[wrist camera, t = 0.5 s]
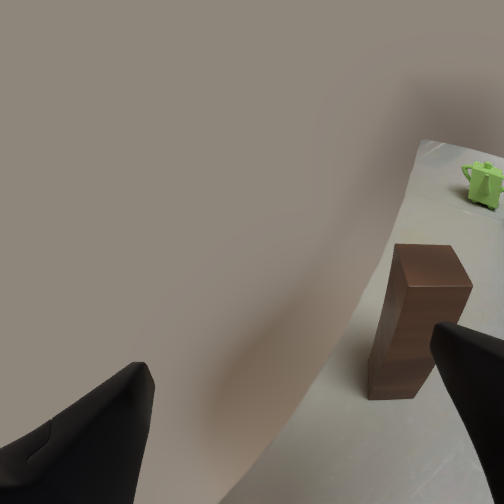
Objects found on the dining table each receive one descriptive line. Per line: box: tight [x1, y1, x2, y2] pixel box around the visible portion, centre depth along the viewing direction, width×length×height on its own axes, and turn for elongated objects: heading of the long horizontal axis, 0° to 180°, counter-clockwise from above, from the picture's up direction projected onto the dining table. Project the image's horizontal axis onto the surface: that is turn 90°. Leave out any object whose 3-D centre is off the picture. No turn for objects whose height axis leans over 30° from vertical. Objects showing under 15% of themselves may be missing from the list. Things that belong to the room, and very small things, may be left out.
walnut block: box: [368, 244, 473, 400], centre depth 18 cm, size 5×5×14 cm
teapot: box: [462, 161, 504, 209], centre depth 47 cm, size 15×13×11 cm
